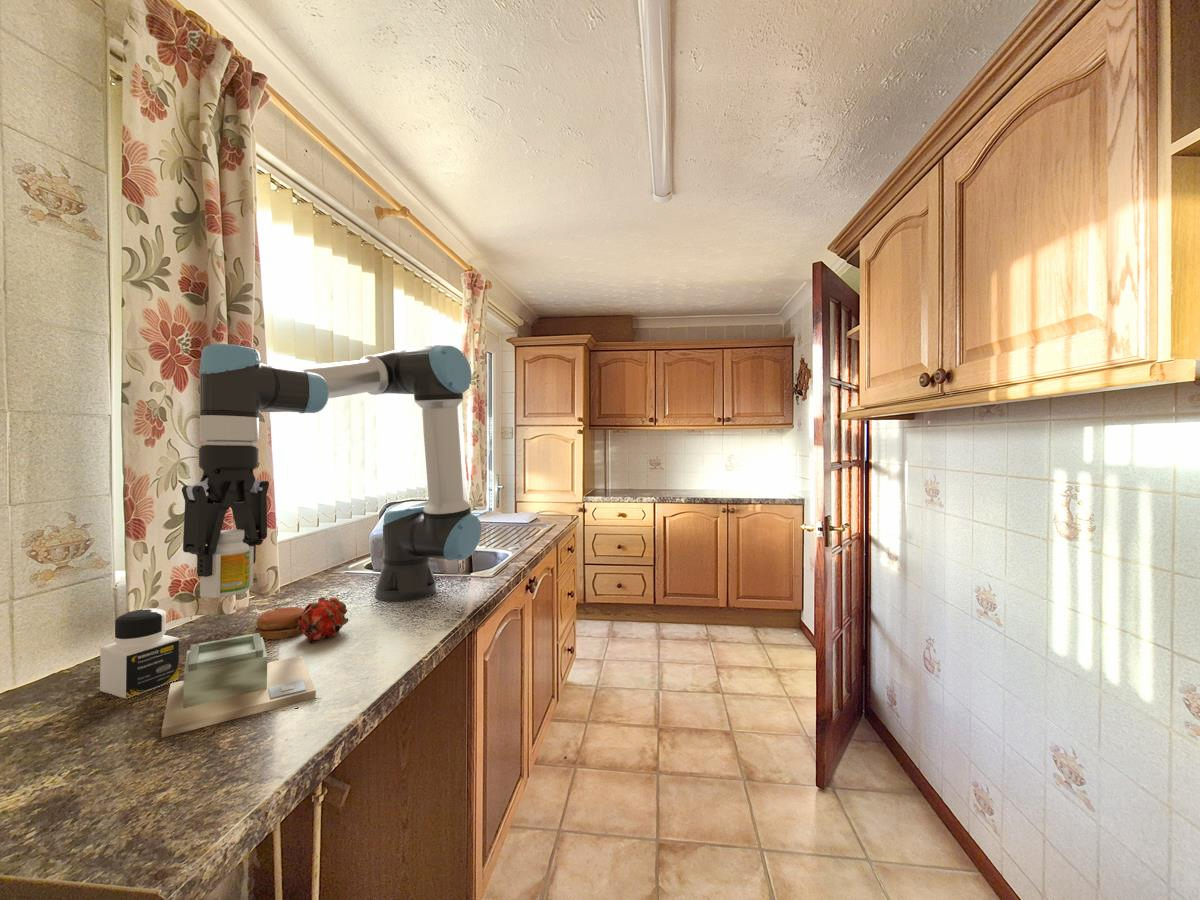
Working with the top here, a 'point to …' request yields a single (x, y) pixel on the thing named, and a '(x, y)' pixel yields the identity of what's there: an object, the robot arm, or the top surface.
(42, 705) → the top surface
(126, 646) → the medicine bottle
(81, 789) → the top surface
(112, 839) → the top surface
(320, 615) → the dragon fruit
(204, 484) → the robot arm
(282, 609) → the burger
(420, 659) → the top surface
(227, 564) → the supplement bottle
